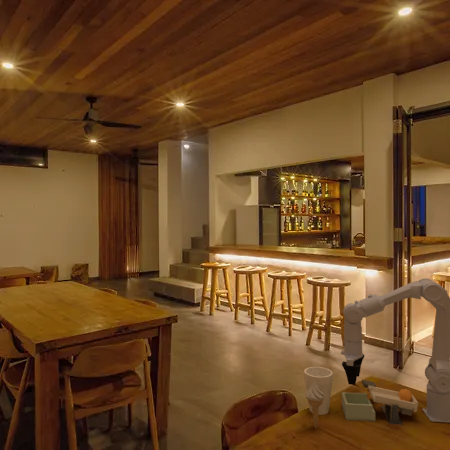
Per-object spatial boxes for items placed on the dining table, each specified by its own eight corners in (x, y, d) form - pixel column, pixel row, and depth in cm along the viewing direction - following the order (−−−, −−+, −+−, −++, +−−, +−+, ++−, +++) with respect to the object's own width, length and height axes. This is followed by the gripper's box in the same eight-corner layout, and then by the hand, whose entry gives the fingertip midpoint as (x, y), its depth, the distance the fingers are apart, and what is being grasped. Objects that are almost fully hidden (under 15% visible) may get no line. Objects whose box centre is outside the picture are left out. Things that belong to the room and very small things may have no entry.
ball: (409, 399, 129) (410, 387, 129) (413, 405, 125) (414, 392, 125) (396, 398, 129) (397, 386, 129) (400, 403, 125) (400, 391, 125)
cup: (369, 408, 133) (369, 393, 133) (375, 421, 124) (375, 405, 124) (341, 406, 135) (341, 392, 135) (345, 419, 126) (345, 404, 126)
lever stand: (393, 407, 133) (392, 391, 133) (403, 424, 122) (402, 407, 122) (380, 407, 134) (380, 391, 134) (389, 424, 123) (389, 406, 123)
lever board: (401, 396, 138) (403, 382, 138) (415, 418, 123) (418, 402, 123) (361, 387, 141) (363, 374, 140) (370, 408, 125) (372, 393, 125)
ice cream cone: (314, 435, 117) (313, 385, 117) (302, 426, 122) (301, 378, 122) (328, 430, 120) (328, 381, 119) (316, 422, 125) (315, 375, 124)
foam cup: (334, 418, 127) (333, 378, 127) (304, 416, 129) (304, 376, 128) (332, 404, 136) (331, 367, 136) (304, 402, 138) (304, 366, 138)
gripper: (345, 332, 141) (345, 370, 141) (336, 344, 128) (337, 386, 128) (365, 335, 137) (366, 373, 137) (359, 347, 124) (360, 389, 125)
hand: (353, 380), depth 132 cm, fingers open, 7 cm apart
